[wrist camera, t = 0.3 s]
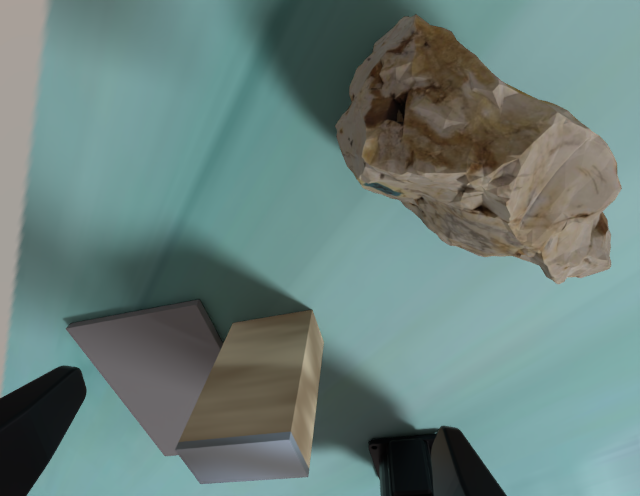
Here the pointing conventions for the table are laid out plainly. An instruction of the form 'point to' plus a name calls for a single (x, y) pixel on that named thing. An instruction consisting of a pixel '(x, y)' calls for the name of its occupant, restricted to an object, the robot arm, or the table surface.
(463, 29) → the table surface
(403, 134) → the rock
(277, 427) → the wooden block
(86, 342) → the mat
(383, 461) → the robot arm
